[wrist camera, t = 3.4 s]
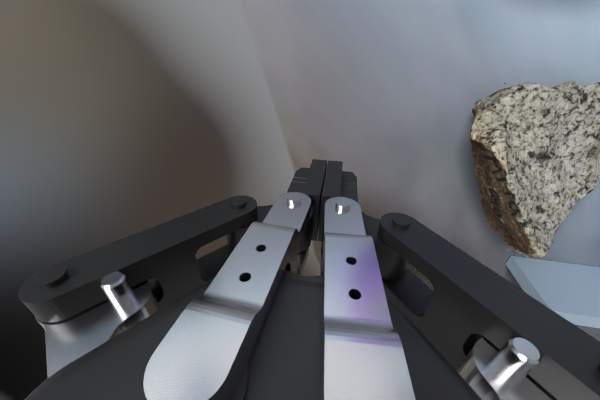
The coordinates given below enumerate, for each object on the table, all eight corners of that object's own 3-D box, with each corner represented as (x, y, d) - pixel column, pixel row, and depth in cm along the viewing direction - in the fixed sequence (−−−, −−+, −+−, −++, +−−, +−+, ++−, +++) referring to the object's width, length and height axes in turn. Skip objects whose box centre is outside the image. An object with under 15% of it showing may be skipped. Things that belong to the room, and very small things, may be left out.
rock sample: (746, 193, 12) (685, 291, 9) (549, 213, 19) (479, 270, 16) (642, 3, 12) (549, 38, 9) (486, 93, 19) (407, 128, 17)
